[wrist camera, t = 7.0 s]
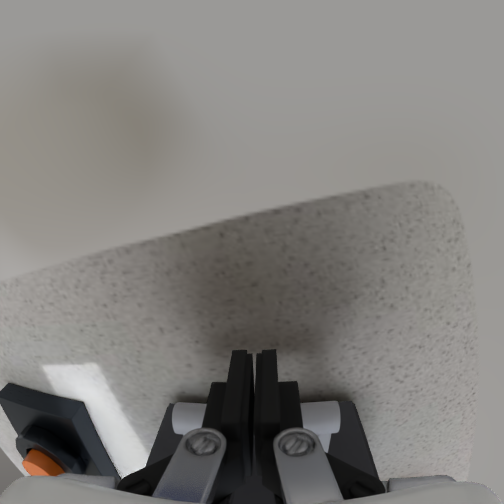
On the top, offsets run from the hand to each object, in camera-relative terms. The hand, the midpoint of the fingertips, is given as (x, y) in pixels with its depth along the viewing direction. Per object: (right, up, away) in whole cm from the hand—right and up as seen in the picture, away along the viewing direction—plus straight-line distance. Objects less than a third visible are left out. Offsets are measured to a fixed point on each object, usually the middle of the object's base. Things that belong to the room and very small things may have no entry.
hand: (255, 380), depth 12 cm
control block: (-17, -12, +10) cm, 23 cm away
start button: (-17, -13, +6) cm, 23 cm away
